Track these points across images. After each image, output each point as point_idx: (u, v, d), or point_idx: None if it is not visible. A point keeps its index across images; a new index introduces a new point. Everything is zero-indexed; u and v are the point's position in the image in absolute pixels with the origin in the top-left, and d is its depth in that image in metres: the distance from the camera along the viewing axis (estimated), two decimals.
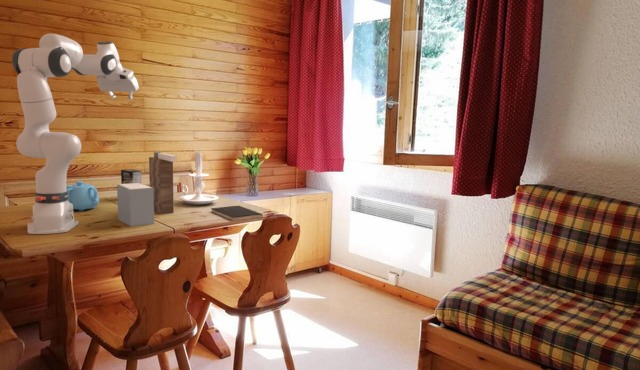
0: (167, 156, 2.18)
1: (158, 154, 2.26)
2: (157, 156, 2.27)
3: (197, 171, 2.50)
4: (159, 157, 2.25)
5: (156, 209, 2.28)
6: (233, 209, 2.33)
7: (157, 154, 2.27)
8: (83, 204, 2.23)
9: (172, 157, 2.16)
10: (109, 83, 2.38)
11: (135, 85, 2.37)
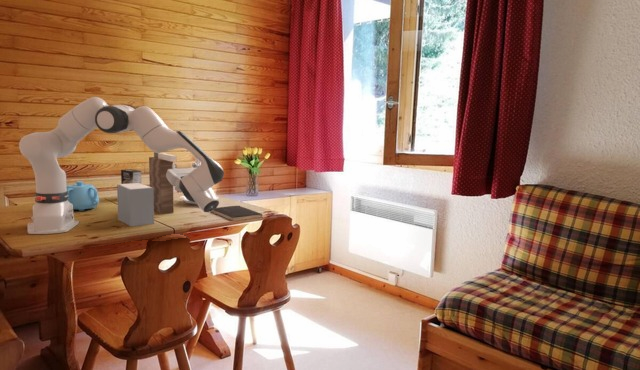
0: (167, 156, 2.18)
1: (158, 154, 2.26)
2: (157, 156, 2.27)
3: None
4: (159, 157, 2.25)
5: (156, 209, 2.28)
6: (233, 209, 2.33)
7: (157, 154, 2.27)
8: (83, 204, 2.23)
9: (172, 157, 2.16)
10: None
11: (169, 175, 1.98)
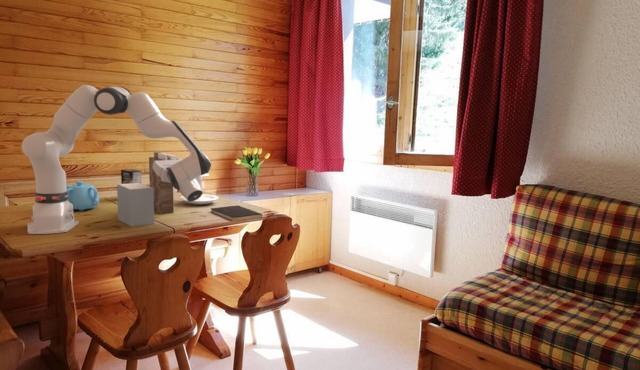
0: None
1: (158, 154, 2.26)
2: (157, 156, 2.27)
3: None
4: (159, 157, 2.25)
5: (156, 209, 2.28)
6: (232, 209, 2.33)
7: (157, 153, 2.27)
8: (83, 204, 2.23)
9: (172, 157, 2.16)
10: None
11: (155, 166, 2.08)
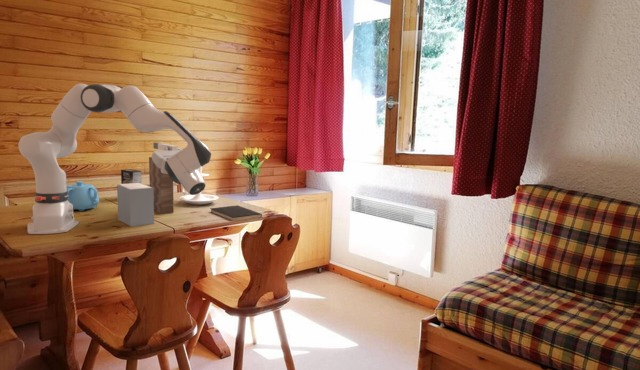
0: None
1: (158, 144, 2.11)
2: (157, 147, 2.12)
3: None
4: (159, 148, 2.11)
5: (156, 209, 2.28)
6: (232, 209, 2.33)
7: (157, 144, 2.12)
8: (83, 204, 2.23)
9: (173, 147, 2.01)
10: None
11: (154, 157, 1.93)
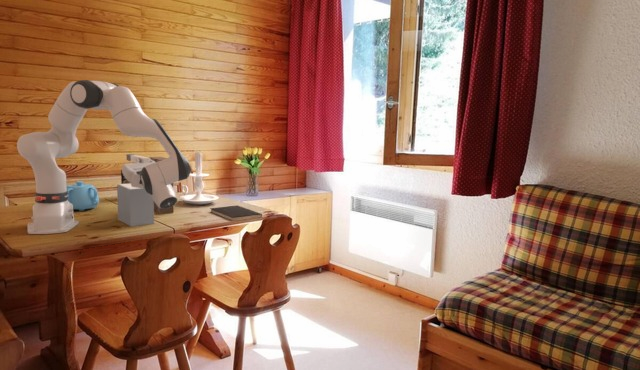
0: None
1: (130, 156, 2.04)
2: (129, 159, 2.05)
3: (197, 171, 2.50)
4: (131, 160, 2.03)
5: (156, 209, 2.28)
6: (232, 209, 2.33)
7: (129, 156, 2.05)
8: (83, 204, 2.23)
9: (145, 160, 1.93)
10: None
11: (124, 170, 1.86)
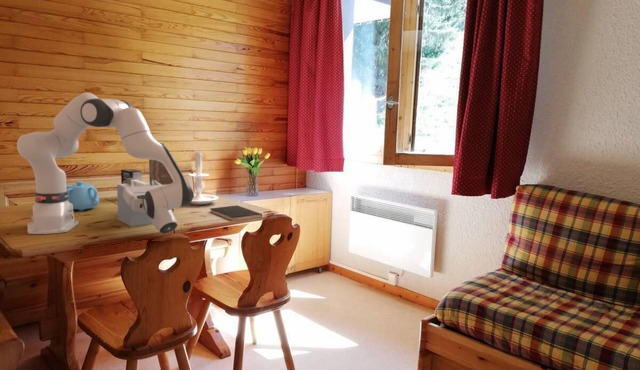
0: (140, 184, 1.98)
1: (131, 181, 2.05)
2: (130, 183, 2.06)
3: (197, 171, 2.50)
4: None
5: None
6: (232, 209, 2.32)
7: (130, 180, 2.06)
8: (83, 204, 2.23)
9: None
10: None
11: (125, 194, 1.87)
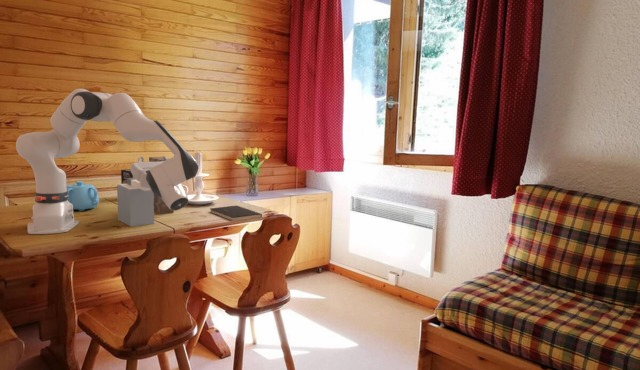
0: None
1: (131, 181, 2.05)
2: (130, 183, 2.06)
3: None
4: (132, 184, 2.05)
5: (156, 209, 2.28)
6: (232, 209, 2.32)
7: (130, 180, 2.06)
8: (83, 204, 2.23)
9: None
10: None
11: (133, 169, 1.78)
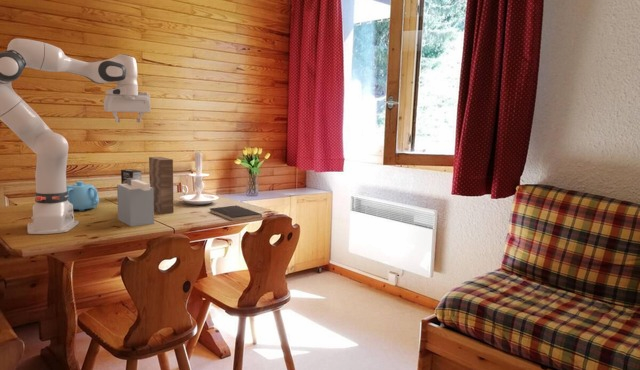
0: (140, 184, 1.98)
1: (131, 181, 2.05)
2: (130, 183, 2.06)
3: (197, 171, 2.50)
4: (132, 184, 2.05)
5: (156, 209, 2.28)
6: (232, 209, 2.32)
7: (130, 180, 2.06)
8: (83, 204, 2.23)
9: (145, 186, 1.95)
10: None
11: (104, 104, 2.08)
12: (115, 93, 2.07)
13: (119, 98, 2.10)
